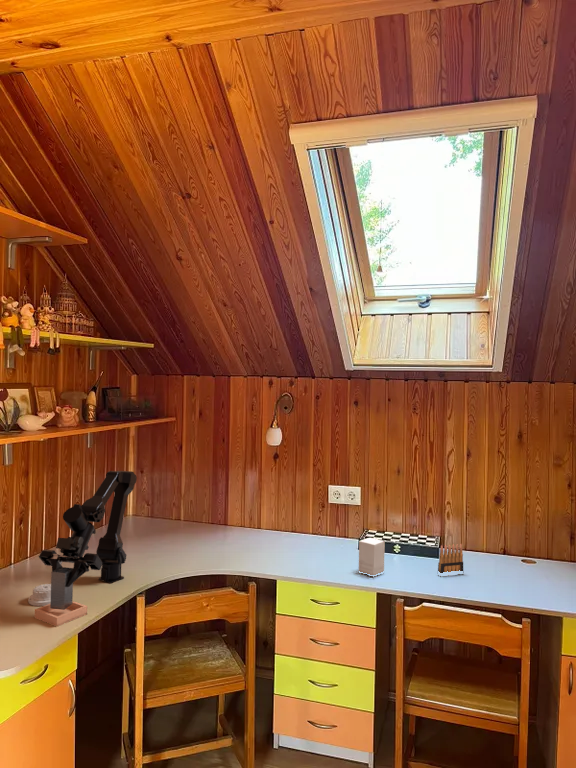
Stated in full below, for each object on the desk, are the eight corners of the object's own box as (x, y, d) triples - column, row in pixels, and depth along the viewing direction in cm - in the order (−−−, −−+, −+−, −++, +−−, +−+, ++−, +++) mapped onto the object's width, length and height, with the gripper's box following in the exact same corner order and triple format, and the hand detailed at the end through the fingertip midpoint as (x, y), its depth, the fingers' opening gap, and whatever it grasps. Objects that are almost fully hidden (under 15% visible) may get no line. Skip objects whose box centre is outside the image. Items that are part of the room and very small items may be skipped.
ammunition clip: (460, 573, 219) (461, 542, 219) (463, 574, 217) (464, 544, 217) (437, 575, 216) (438, 544, 215) (440, 577, 214) (441, 545, 214)
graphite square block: (58, 602, 171) (59, 566, 171) (72, 603, 170) (73, 568, 170) (50, 608, 167) (51, 571, 167) (64, 609, 166) (65, 573, 166)
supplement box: (384, 573, 216) (385, 541, 216) (373, 578, 210) (374, 544, 210) (369, 568, 221) (370, 537, 221) (357, 573, 216) (358, 540, 216)
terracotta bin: (64, 606, 176) (65, 598, 176) (87, 614, 170) (87, 606, 170) (34, 617, 167) (34, 609, 167) (56, 626, 161) (57, 618, 161)
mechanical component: (25, 598, 181) (31, 609, 173) (25, 585, 181) (32, 595, 173) (57, 592, 187) (65, 602, 179) (58, 579, 187) (65, 589, 179)
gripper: (43, 523, 174) (19, 570, 163) (98, 528, 171) (78, 576, 160) (56, 541, 182) (35, 587, 171) (110, 546, 179) (91, 593, 168)
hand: (59, 585), depth 167 cm, fingers closed on graphite square block, 4 cm apart
